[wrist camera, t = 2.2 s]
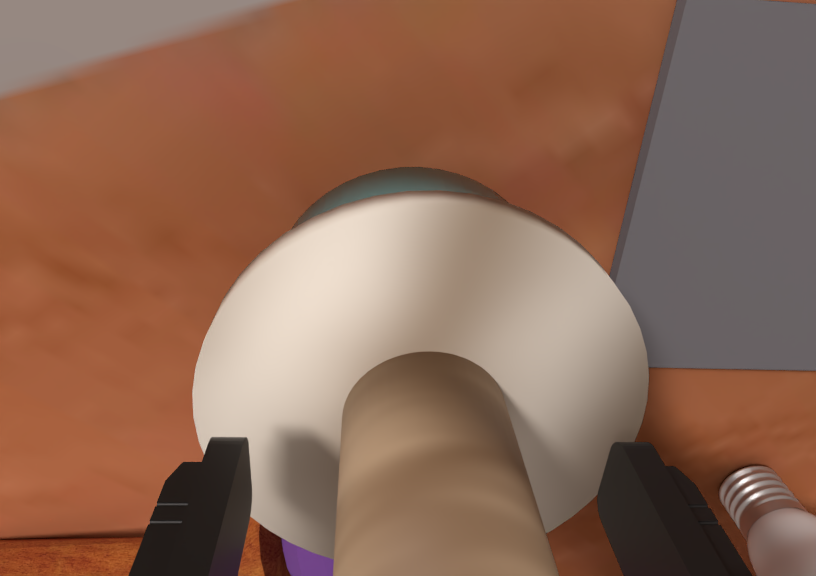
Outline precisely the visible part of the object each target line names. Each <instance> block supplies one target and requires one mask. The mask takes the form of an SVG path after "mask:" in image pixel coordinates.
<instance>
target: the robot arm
mask: <svg viewBox="0 0 816 576" xmlns="http://www.w3.org/2000/svg"><path fill="white" fill-rule="evenodd" d="M597 503H598V512H599V516H600V519H601V522H602V525H603V527H604V529H605V532H606V534H607V537H608V539H609V541H610V544H611V546H612V549H613V551H614V553H615V556H616V558H617V561H618V563H619V565H620V568H621V570H622V573H623V575H624V576H752V575H751V573H750V571H749V570H748V568H747V567H746V565H745V563H744V562H743V560H742V559H741V557H740V555H739V554H738V552H737V551H736V549H735V547H734V546H733V544H732V543H731V541H730V539H729V538H728V536H727V535H726V533H725V531H724V530H723V528H722V527H721V525H718V520H717V519H716V517H715V515H714V514H713V512H712V511H711V509H710V508H708V507H707V505H708V504H707V503H706V501H705V499H704V498H703V496H702V495H701V493H700V491H699V490H698V488H697V487H696V485H695V484H694V483H693V482H692V481H691V480H690V479H689V478H687V477H686V476H685V475H684V474H683V473H682V472H681V471H679V470H678V469H677V468H676V467H675V466H665V465H664V463H663V461H662V460H661V458H660V456H659V455H658V453H657V451H656V449H655V448H654V446H653V445H652V444H650V443H648V442H615V443H613V444H612V446H611V449H610V452H609V455H608V459H607V462H606V466H605V469H604V473H603V476H602V479H601V483H600V486H599V490H598V497H597ZM251 506H252V481H251V468H250V455H249V443H248V438H247V437H211V438H210V440H209V443H208V445H207V448H206V451H205V454H204V457H203V460H202V462H183V463H182V464H181V465H180V466H179V467H178V468H177V469H176V470H175V471H174V472H173V473H172V474H171V475H170V476H169V478H168V479H167V480H166V481H165V483H164V486H163V488H162V491H161V494H160V496H159V499H158V501H157V507H155V509H154V511H153V514H152V516H151V519H150V524H149V525H148V527H147V529H146V532H145V534H144V537H143V539H142V542H141V544H140V547H139V550H138V552H137V555H136V557H135V560H134V562H133V565H132V567H131V570H130V572H129V575H128V576H238V572H239V567H240V562H241V558H242V553H243V548H244V544H245V539H246V534H247V530H248V525H249V520H250V515H251Z"/></svg>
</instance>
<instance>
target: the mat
mask: <svg viewBox="0 0 816 576" xmlns="http://www.w3.org/2000/svg"><path fill="white" fill-rule="evenodd" d="M609 277H610V278H611V279H612V281H613V282H614V283H615V285H616V286H617V288H618V289H619V291H620V292H621V294H622V295H623V296H624V298H625V299H626V301H627V302H628V304H629V305H630V307H631V309H632V312H633V314H634V316H635V318H636V320H637V322H638V324H639V327H640V329H641V333H642V336H643V340H644V344H645V347H646V351H647V360H648V367H660V368H710V369H760V370H811V371H816V4H807V3H793V2H779V1H764V0H677V3H676V7H675V11H674V15H673V19H672V23H671V27H670V31H669V35H668V39H667V43H666V48H665V52H664V56H663V60H662V64H661V68H660V72H659V76H658V80H657V84H656V88H655V92H654V96H653V100H652V105H651V109H650V113H649V117H648V121H647V125H646V129H645V133H644V137H643V141H642V145H641V149H640V153H639V157H638V162H637V166H636V170H635V174H634V178H633V182H632V186H631V190H630V194H629V198H628V202H627V206H626V210H625V214H624V219H623V223H622V227H621V231H620V235H619V239H618V243H617V247H616V251H615V255H614V259H613V263H612V267H611V272H610V276H609Z"/></svg>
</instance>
